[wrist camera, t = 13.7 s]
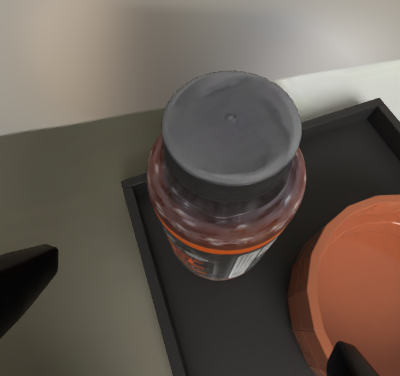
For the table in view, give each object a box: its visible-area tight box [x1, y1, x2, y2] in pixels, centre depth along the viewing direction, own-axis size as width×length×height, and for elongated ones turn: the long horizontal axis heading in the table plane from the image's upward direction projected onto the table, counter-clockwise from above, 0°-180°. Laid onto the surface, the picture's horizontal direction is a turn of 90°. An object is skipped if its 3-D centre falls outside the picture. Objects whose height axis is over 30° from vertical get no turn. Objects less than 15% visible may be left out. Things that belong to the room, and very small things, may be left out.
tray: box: [121, 98, 400, 376], centre depth 16 cm, size 19×19×2 cm
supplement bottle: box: [147, 71, 306, 281], centre depth 13 cm, size 6×6×11 cm
